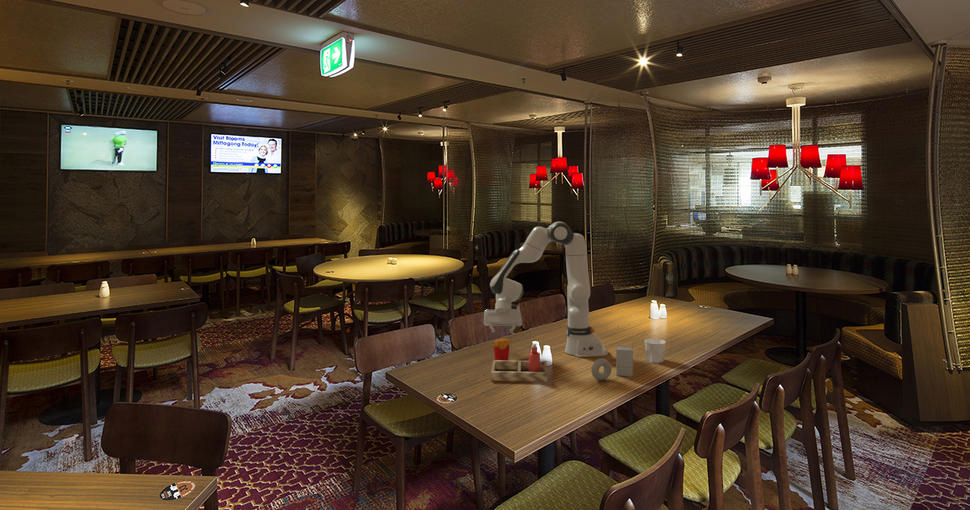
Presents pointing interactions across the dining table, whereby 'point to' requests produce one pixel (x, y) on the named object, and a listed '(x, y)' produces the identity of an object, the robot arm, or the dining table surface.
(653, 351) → the cup
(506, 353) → the french fries
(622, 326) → the dining table surface
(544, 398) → the dining table surface
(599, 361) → the donut
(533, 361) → the ketchup bottle
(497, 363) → the caddy
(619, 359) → the supplement box
